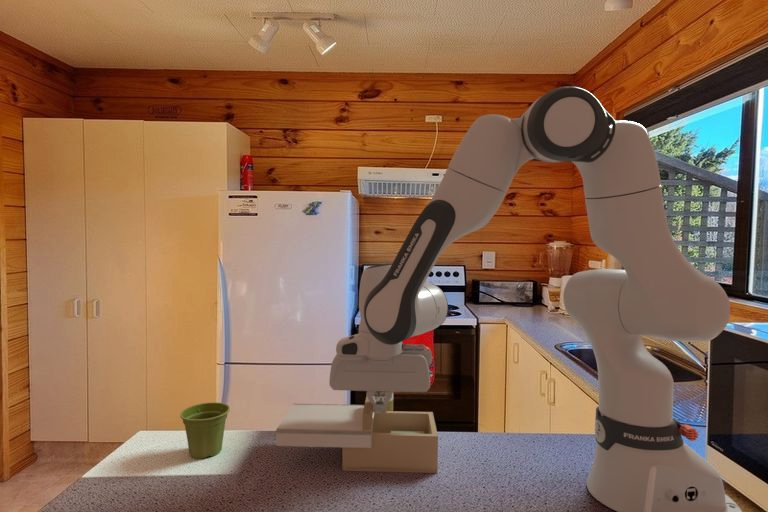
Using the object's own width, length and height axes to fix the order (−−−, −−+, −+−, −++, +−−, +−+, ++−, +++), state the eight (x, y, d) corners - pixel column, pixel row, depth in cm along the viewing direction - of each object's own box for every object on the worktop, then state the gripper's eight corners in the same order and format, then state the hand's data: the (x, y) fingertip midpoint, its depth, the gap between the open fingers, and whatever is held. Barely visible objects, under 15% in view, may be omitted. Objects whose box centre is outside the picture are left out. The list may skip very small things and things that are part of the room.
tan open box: (432, 444, 94) (432, 412, 94) (437, 473, 82) (437, 436, 82) (349, 442, 94) (349, 410, 94) (342, 470, 82) (342, 434, 82)
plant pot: (212, 466, 84) (212, 421, 84) (169, 460, 86) (169, 417, 85) (238, 444, 93) (238, 404, 93) (199, 440, 95) (199, 400, 95)
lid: (375, 418, 95) (375, 391, 95) (371, 448, 81) (371, 416, 81) (293, 417, 96) (293, 389, 95) (275, 445, 82) (276, 414, 82)
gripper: (430, 341, 91) (429, 407, 91) (333, 339, 91) (332, 404, 91) (433, 348, 84) (432, 418, 84) (328, 346, 85) (327, 416, 85)
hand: (379, 411), depth 88 cm, fingers closed
